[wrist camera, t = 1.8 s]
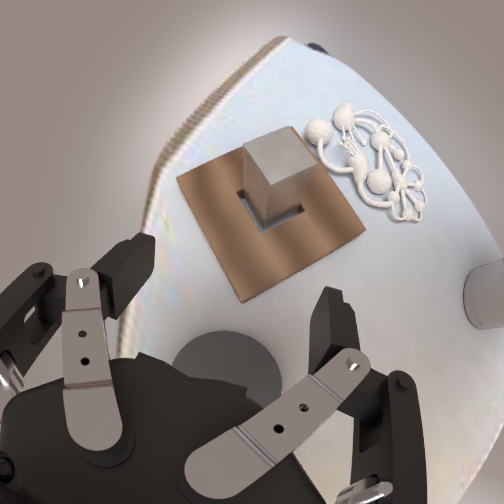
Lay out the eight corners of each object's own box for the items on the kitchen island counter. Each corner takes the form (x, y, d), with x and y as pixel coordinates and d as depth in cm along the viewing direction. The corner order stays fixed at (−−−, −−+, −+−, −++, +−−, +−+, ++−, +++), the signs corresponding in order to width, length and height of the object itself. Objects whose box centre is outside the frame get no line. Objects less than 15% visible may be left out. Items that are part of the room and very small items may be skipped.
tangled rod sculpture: (437, 194, 37) (452, 182, 33) (392, 249, 33) (410, 239, 30) (352, 106, 40) (361, 89, 36) (291, 140, 36) (298, 120, 32)
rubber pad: (246, 311, 31) (246, 311, 30) (299, 402, 28) (301, 404, 28) (152, 360, 29) (150, 361, 28) (205, 448, 27) (205, 451, 26)
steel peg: (275, 187, 35) (288, 125, 23) (294, 217, 34) (317, 163, 22) (243, 203, 34) (243, 144, 23) (261, 234, 33) (271, 185, 22)
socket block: (289, 137, 37) (291, 126, 34) (358, 236, 33) (366, 229, 31) (179, 187, 34) (175, 177, 32) (242, 303, 31) (241, 301, 29)
